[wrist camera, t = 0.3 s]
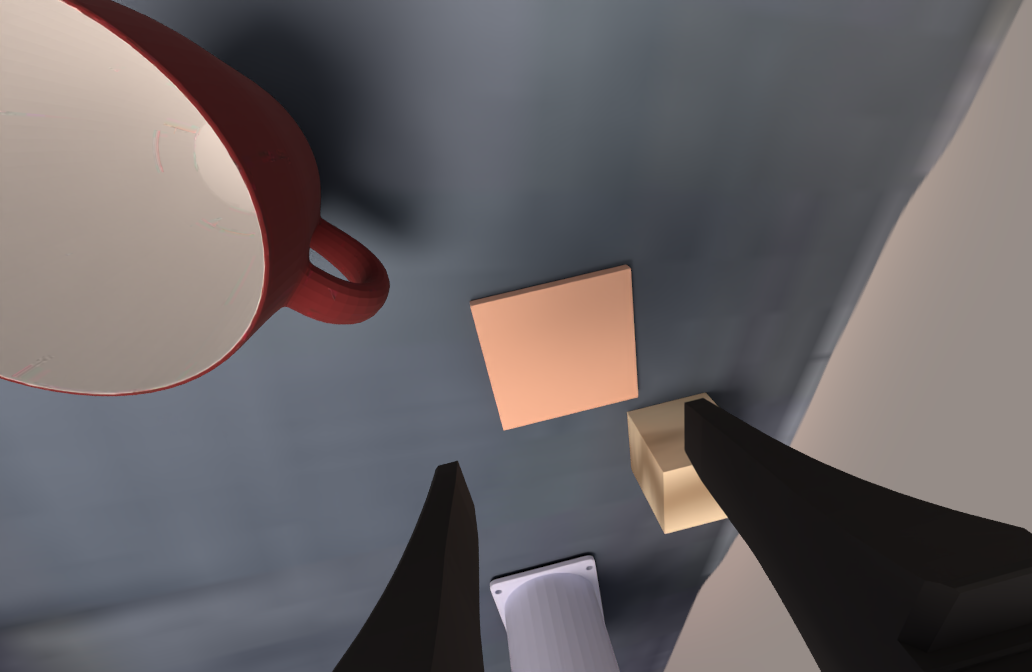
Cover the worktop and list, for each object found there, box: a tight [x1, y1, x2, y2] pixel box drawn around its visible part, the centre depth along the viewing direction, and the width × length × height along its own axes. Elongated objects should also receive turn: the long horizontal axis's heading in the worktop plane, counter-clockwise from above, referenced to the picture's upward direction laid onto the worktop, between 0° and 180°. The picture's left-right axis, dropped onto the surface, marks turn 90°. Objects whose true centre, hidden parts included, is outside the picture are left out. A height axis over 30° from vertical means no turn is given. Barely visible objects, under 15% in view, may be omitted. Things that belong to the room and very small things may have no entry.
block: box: [627, 393, 728, 534], centre depth 25 cm, size 5×5×5 cm
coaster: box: [470, 265, 638, 430], centre depth 22 cm, size 8×8×1 cm
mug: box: [0, 0, 390, 396], centre depth 13 cm, size 10×8×10 cm
